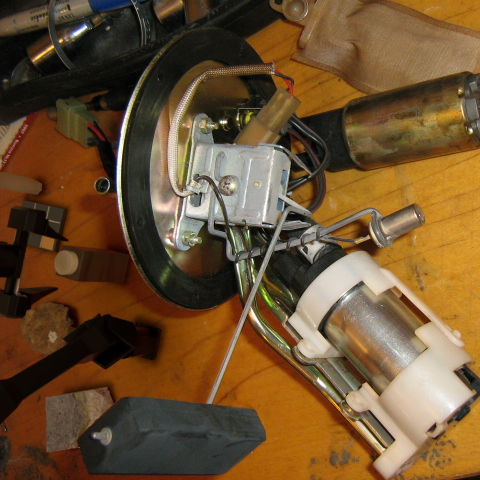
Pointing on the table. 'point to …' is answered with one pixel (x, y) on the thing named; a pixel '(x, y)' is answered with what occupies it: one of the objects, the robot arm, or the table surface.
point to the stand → (97, 265)
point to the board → (55, 222)
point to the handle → (19, 183)
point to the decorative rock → (46, 327)
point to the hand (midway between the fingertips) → (61, 264)
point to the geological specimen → (73, 416)
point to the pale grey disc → (66, 262)
